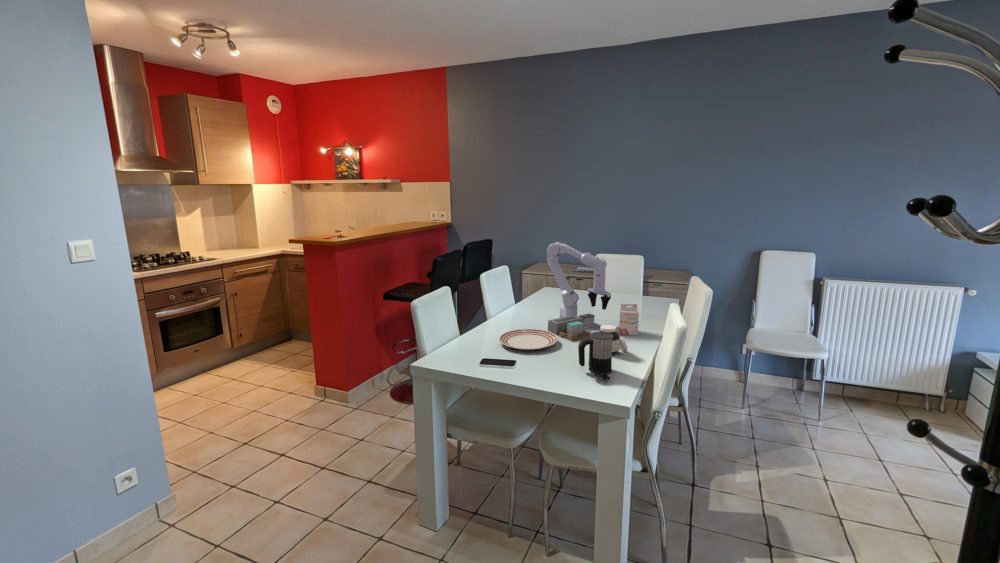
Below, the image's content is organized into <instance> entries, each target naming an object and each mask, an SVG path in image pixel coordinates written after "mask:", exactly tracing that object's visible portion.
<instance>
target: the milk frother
mask: <svg viewBox="0 0 1000 563" xmlns="http://www.w3.org/2000/svg"><path fill="white" fill-rule="evenodd" d="M613 337H614V336H613V335H612V334H610V333H607V332H599V331H594V332H590V337H587V338H582V339H581V341H579V343H578V350H577V351H578V364H579V366H580V367H585V365H586V364H585V363H586V362H585V361H586V359H585V356H586V353H585V352H586V351H585V348H586V346H588V345H589V350H588V351H589V352H588V371H589V373H590V374H591V375H593V376H596V377H597V378H599V379H601V380H603V381H604V382H607V381H610V380H611V376H610V375H608V374H611V373H612V371H613V368H612V364H613V363H612V358H613V357H612V356H613V355H612V341H613Z"/></svg>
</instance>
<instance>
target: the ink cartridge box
mask: <svg viewBox="0 0 1000 563" xmlns="http://www.w3.org/2000/svg"><path fill="white" fill-rule="evenodd" d="M619 310H620V311H619V326H618V333H619V335H620V336H622V335H624V336H625V335H626V336H638V335H639V334H638V333H639V332H638V331H639V323H640V322H639V321H640V320H639V318H640V311H638V304H636V303H621V304H620V309H619Z"/></svg>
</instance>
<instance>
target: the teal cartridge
mask: <svg viewBox="0 0 1000 563" xmlns="http://www.w3.org/2000/svg"><path fill="white" fill-rule="evenodd" d="M583 324H584V323H582V322H579V321H577V322H572V323H567V334H568V335H570V336H574V335H578V334H582V333H583V330H584V328H583Z"/></svg>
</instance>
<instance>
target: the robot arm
mask: <svg viewBox="0 0 1000 563" xmlns="http://www.w3.org/2000/svg"><path fill="white" fill-rule="evenodd" d="M562 254H567V255H570V256H572V257H575V258H576V259H580V262H581V263H582V264H584V265H585V266H589V267H590V268H593V270H594V274H593V275H594V278H593V288H588V289H587V297H588V298H589V300H590V305H591V307H596V304H597V297H598V295H600V300H601V309H602V310H603V311H605V310H607V307H608V303H609V301H610V299H612V293H611V292H609V291H607V290H606V268H607V266H608V262H607V261H606V260H605V259H604V258H600V257H599V256H595V255H592V253H591V252H584V253H583V252H581V251H579V250H577V249H576V248H573V247H572V246H570V245H568V244H566V243H563V242H561V241H556V242H554V243H550V244H548V247H547V248H546V263H547V265H548V267H549V269H550V271H551V273H552V276H553V277H554V279H555V281H556V283H557V285H558V287H559V289H560V291H561V298H562V303H563V304H562V305H561V306H560V307H559V318H562V317H567V316H572V315H575V316H578V302H579V299H580V297H579V295H578V293H577V292H575V290H574V288H572V287H571V285H570V283H569V281H568V280H567V277H566V275H565V274H564V271H563V269H562V267H561V266H560V264H559V261H558V260H559V259H560V256H561V255H562Z"/></svg>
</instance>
